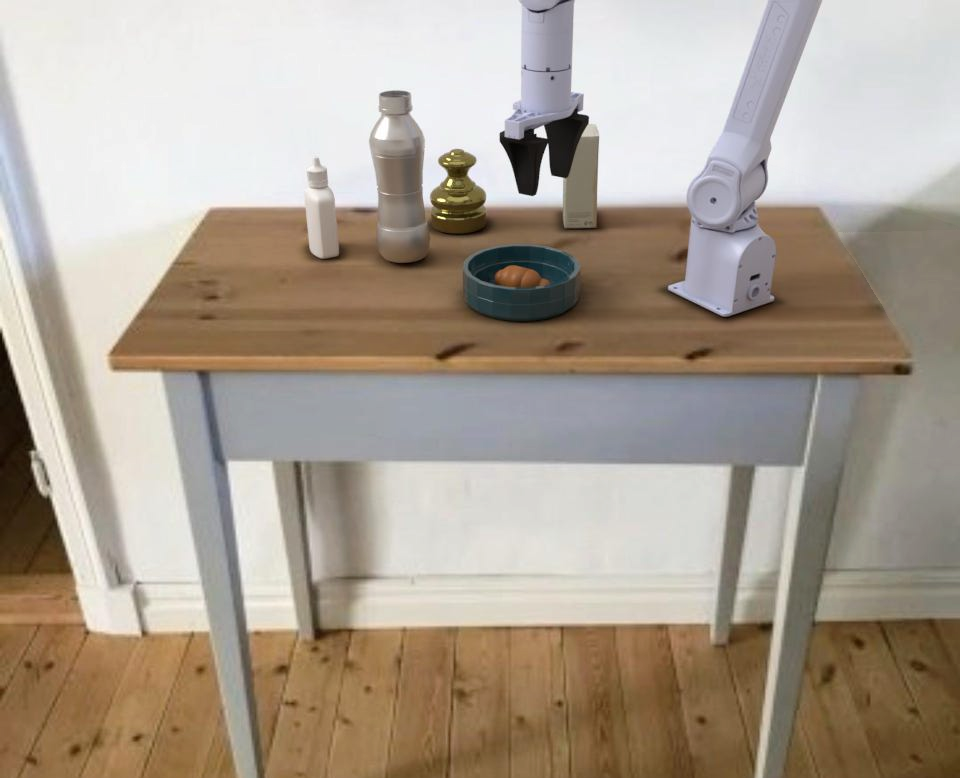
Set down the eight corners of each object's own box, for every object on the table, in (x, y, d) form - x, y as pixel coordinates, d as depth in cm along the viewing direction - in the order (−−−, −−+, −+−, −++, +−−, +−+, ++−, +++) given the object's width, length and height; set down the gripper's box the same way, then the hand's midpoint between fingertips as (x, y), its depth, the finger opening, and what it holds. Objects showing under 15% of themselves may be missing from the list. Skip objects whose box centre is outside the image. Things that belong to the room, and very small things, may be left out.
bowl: (602, 304, 121) (604, 271, 119) (506, 333, 115) (507, 299, 113) (533, 267, 130) (533, 236, 128) (441, 292, 124) (440, 260, 122)
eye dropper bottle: (346, 243, 138) (338, 150, 131) (336, 260, 133) (328, 165, 126) (312, 242, 138) (303, 150, 131) (302, 259, 133) (292, 164, 127)
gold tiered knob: (491, 232, 140) (491, 157, 135) (435, 237, 139) (433, 161, 134) (480, 213, 146) (479, 140, 141) (426, 218, 145) (424, 144, 140)
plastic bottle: (424, 270, 130) (416, 102, 119) (370, 267, 131) (358, 100, 120) (436, 251, 135) (430, 88, 124) (385, 247, 136) (374, 86, 125)
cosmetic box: (596, 229, 141) (601, 136, 134) (562, 229, 141) (565, 136, 134) (593, 212, 146) (597, 122, 140) (560, 212, 146) (563, 123, 140)
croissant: (545, 307, 119) (545, 280, 118) (481, 291, 123) (481, 265, 122) (561, 296, 122) (562, 269, 120) (498, 280, 126) (498, 254, 124)
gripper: (548, 50, 127) (545, 163, 134) (481, 75, 117) (482, 196, 124) (601, 57, 124) (595, 172, 131) (536, 83, 114) (534, 207, 121)
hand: (543, 185), depth 127 cm, fingers open, 7 cm apart
